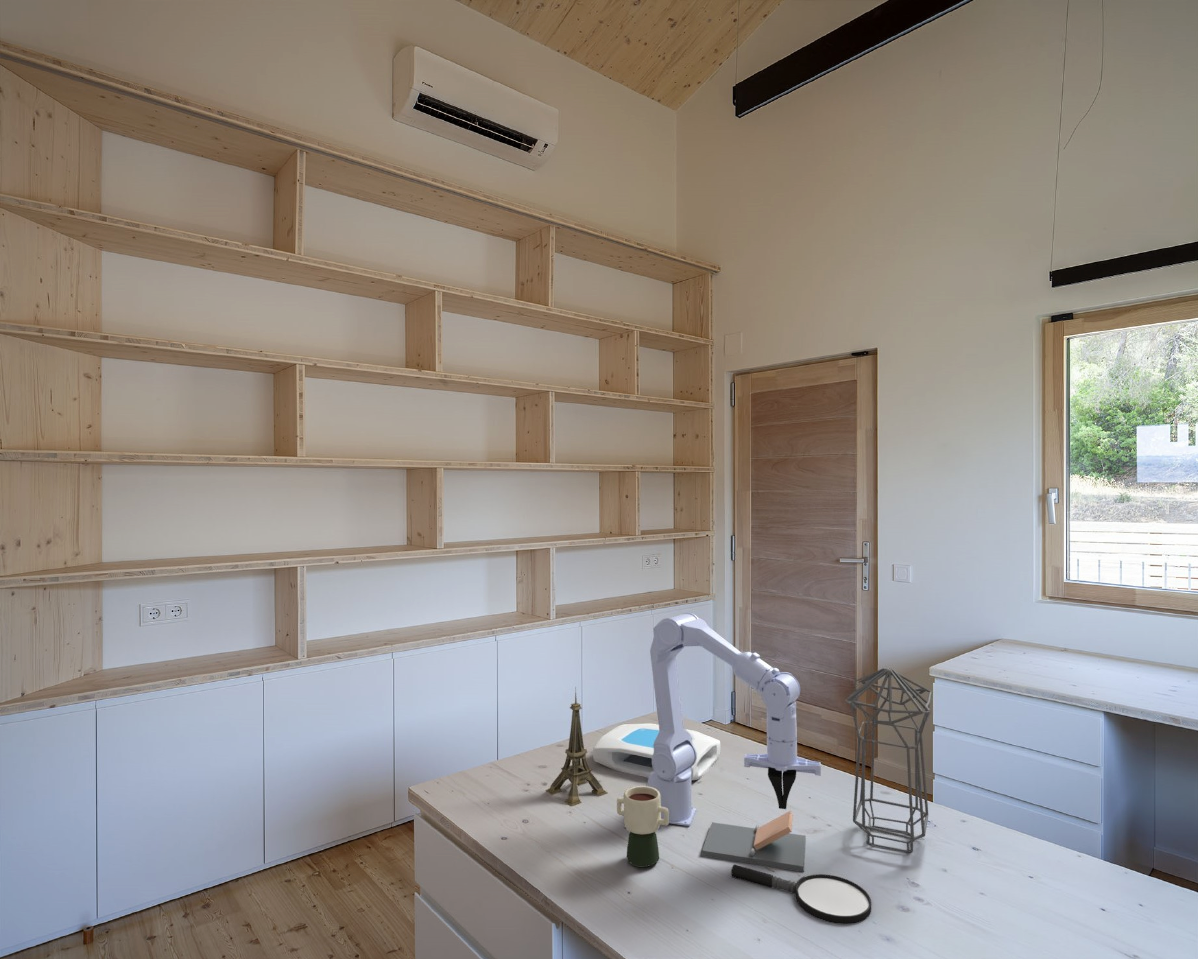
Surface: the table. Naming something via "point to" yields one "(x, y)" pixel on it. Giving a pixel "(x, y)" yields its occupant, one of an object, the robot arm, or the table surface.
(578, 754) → the eiffel tower
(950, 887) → the table surface
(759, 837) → the tile
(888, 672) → the geometric lantern
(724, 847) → the mat
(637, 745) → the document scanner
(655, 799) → the character mug
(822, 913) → the magnifying glass
